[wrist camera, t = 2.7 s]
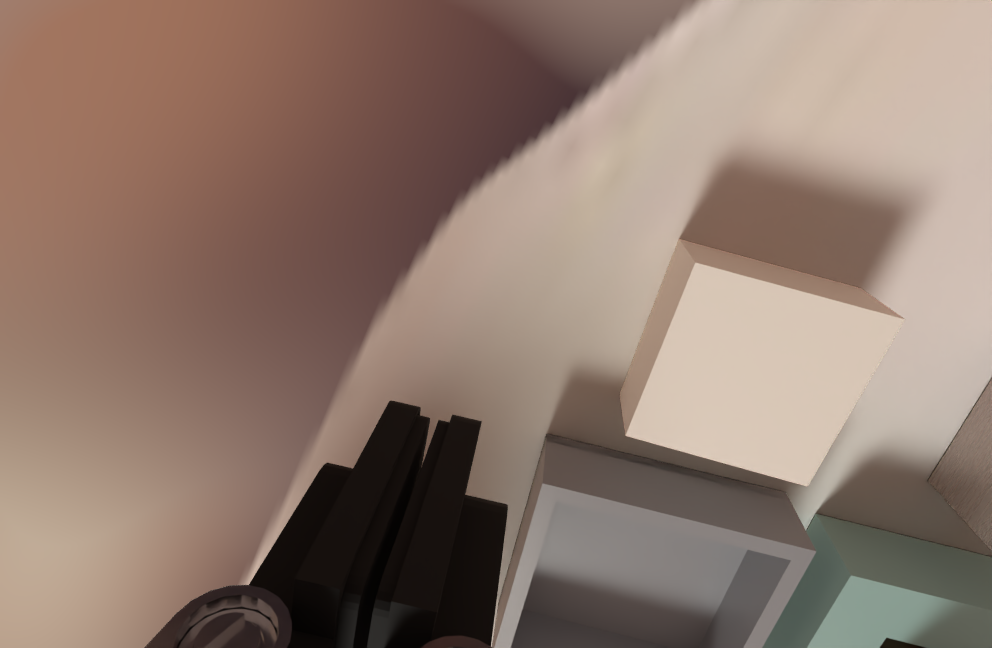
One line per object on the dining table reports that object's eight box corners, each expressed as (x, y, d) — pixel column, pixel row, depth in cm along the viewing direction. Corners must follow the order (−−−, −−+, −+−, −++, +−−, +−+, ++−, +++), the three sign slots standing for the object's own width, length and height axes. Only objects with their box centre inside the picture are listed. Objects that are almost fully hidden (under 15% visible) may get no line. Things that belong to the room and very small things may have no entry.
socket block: (1028, 566, 21) (1096, 636, 19) (923, 702, 25) (967, 780, 22) (815, 513, 22) (850, 575, 19) (738, 655, 25) (759, 725, 22)
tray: (785, 492, 21) (816, 551, 19) (702, 656, 25) (718, 726, 22) (546, 433, 22) (542, 483, 19) (498, 603, 25) (489, 665, 23)
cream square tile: (856, 285, 19) (905, 319, 16) (777, 434, 21) (807, 486, 18) (677, 236, 19) (695, 262, 16) (618, 390, 21) (625, 435, 18)
